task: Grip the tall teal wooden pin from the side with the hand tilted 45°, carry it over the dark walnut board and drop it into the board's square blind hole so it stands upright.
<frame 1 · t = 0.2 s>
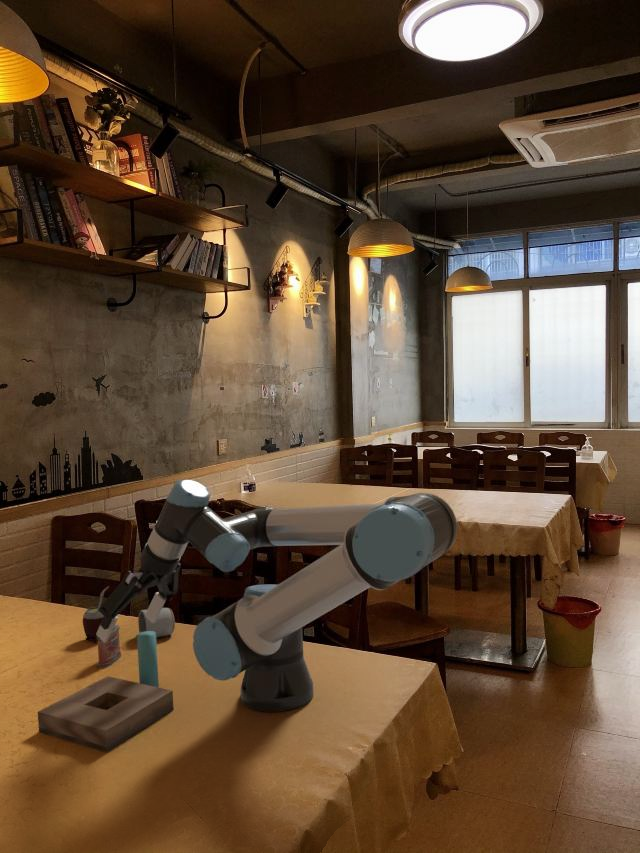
hand: (126, 628, 147), 15 cm above the table, tool tilted 35°, fingers open, 13 cm apart
lighter: (109, 661, 168), on the table
mate gourd: (99, 640, 184), on the table
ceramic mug: (154, 636, 185), on the table
hole board: (108, 720, 137), on the table
pin: (149, 688, 152), on the table
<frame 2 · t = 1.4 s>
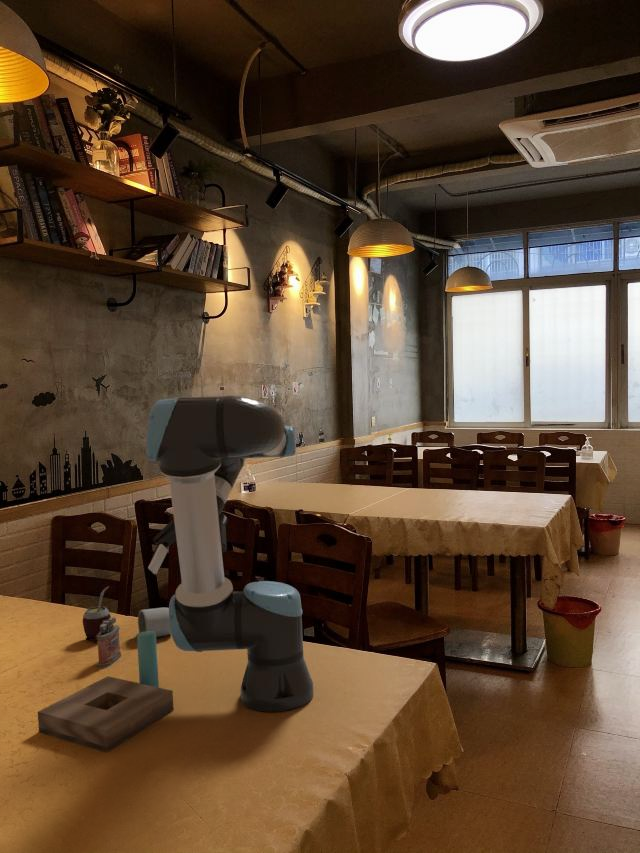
hand: (174, 574, 159), 23 cm above the table, tool tilted 45°, fingers open, 13 cm apart
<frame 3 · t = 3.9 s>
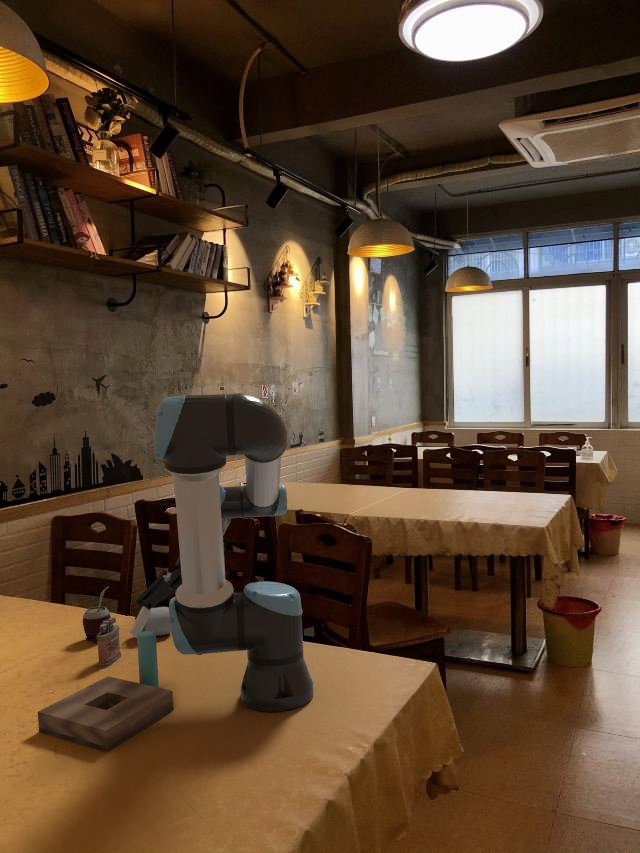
hand: (156, 639, 155), 9 cm above the table, tool tilted 45°, fingers open, 13 cm apart
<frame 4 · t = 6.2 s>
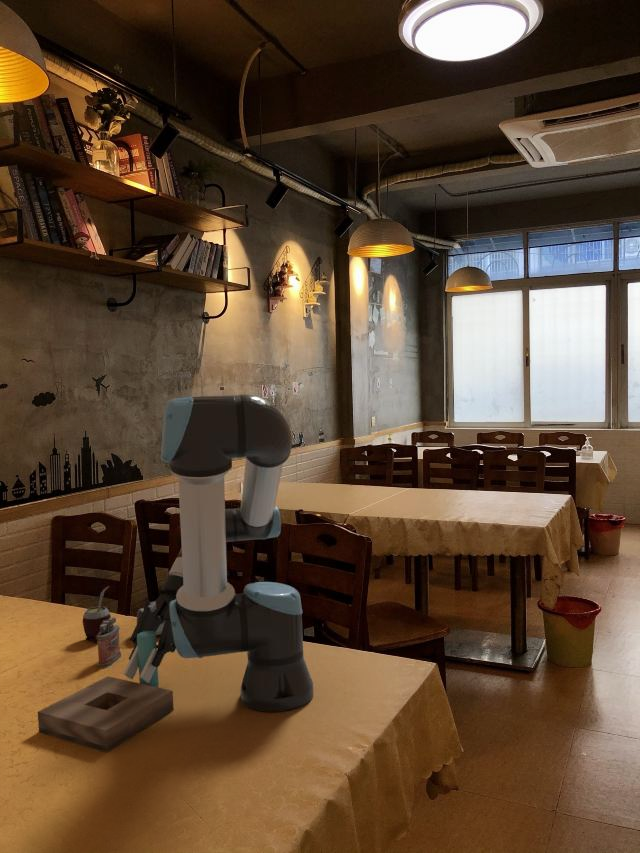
hand: (136, 678, 148), 4 cm above the table, tool tilted 45°, fingers closed on pin, 4 cm apart
pin: (149, 688, 152), on the table, touching gripper
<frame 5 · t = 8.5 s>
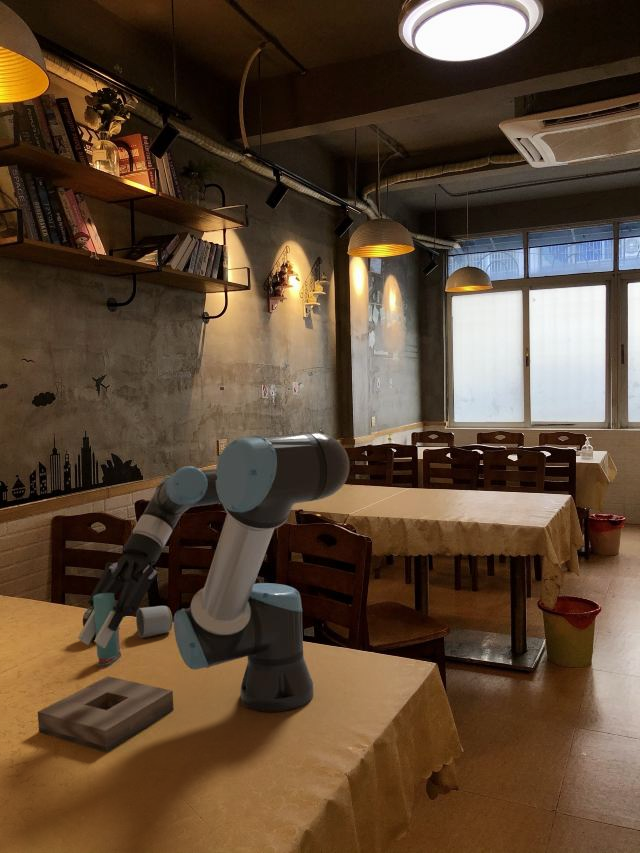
hand: (91, 642, 136), 16 cm above the table, tool tilted 45°, fingers closed on pin, 4 cm apart
pin: (107, 654, 139), point 12 cm above the table, touching gripper
when the fingers open (7 cm above the table, at t = 11.1 s): pin drops 2 cm, resting on hole board.
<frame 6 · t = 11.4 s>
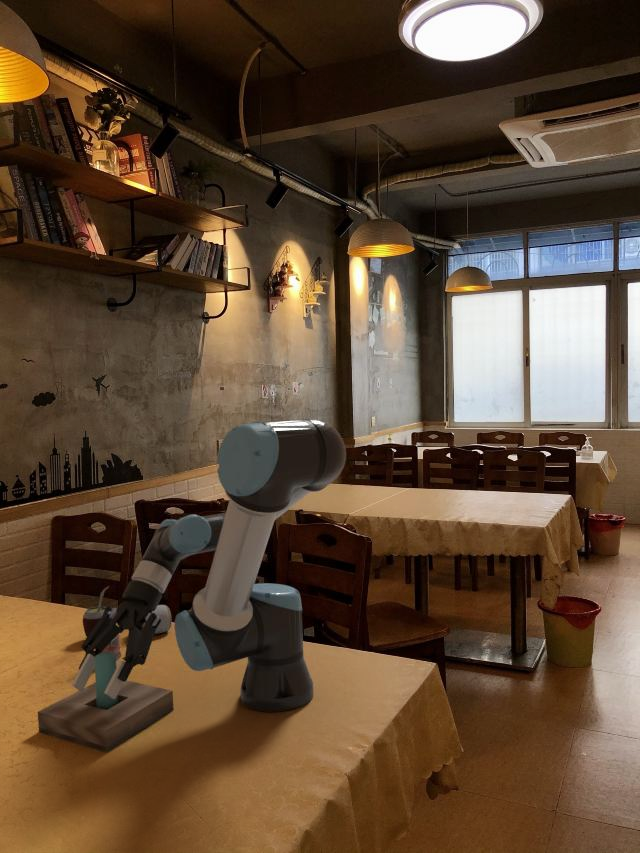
hand: (92, 692, 134), 7 cm above the table, tool tilted 45°, fingers open, 8 cm apart
pin: (107, 715, 137), point 1 cm above the table, touching hole board
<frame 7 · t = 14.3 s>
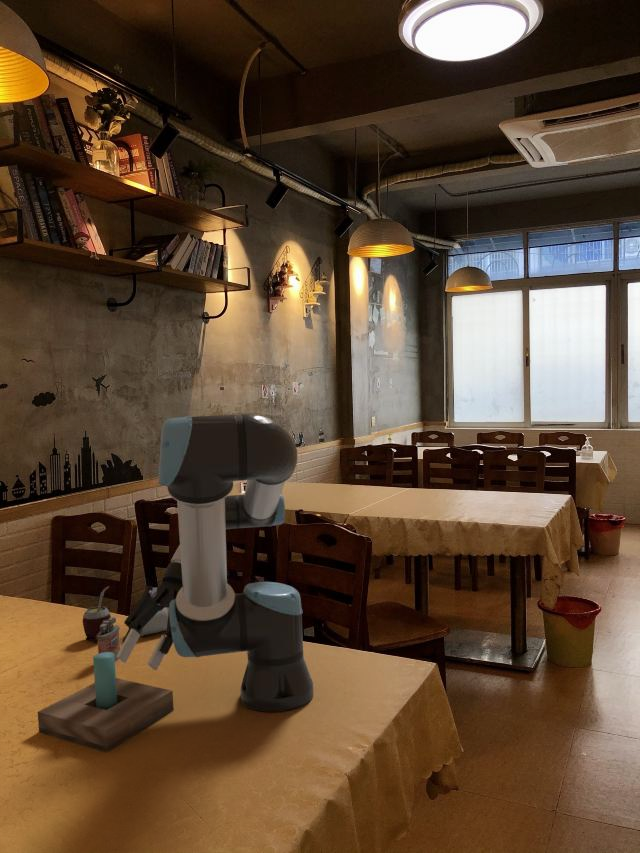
hand: (136, 663, 145), 8 cm above the table, tool tilted 45°, fingers open, 8 cm apart
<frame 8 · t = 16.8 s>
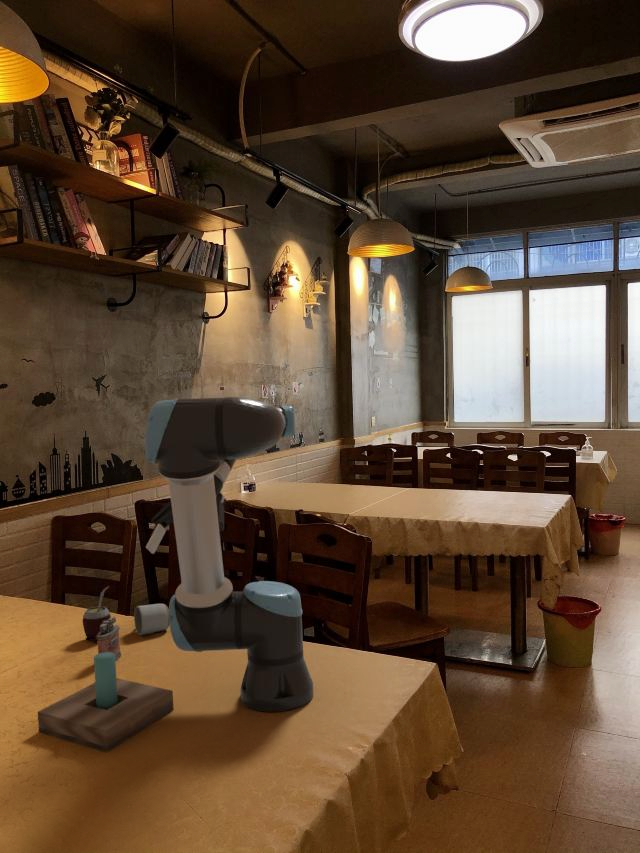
hand: (172, 552, 159), 28 cm above the table, tool tilted 45°, fingers open, 13 cm apart
at the end: pin 0.1 cm off-centre on the hole board, point 1.0 cm above the hole board's base; pin tilted 0°; the gripper is holding nothing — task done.
